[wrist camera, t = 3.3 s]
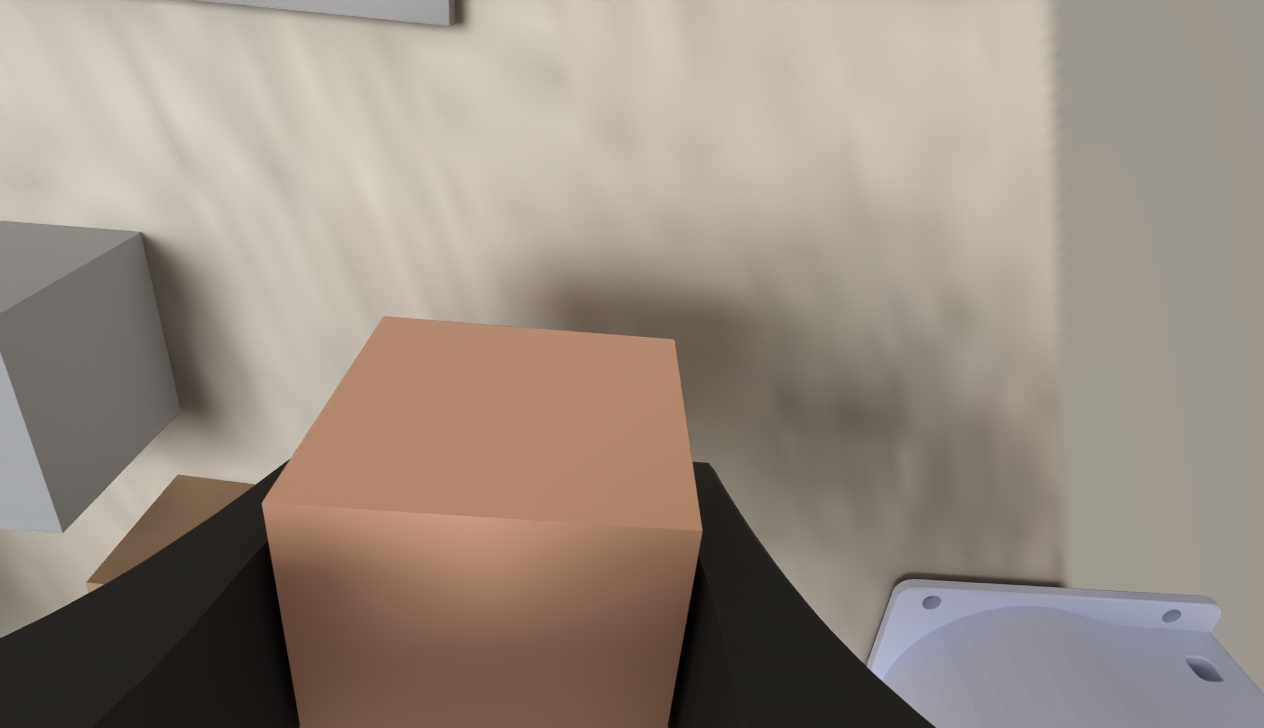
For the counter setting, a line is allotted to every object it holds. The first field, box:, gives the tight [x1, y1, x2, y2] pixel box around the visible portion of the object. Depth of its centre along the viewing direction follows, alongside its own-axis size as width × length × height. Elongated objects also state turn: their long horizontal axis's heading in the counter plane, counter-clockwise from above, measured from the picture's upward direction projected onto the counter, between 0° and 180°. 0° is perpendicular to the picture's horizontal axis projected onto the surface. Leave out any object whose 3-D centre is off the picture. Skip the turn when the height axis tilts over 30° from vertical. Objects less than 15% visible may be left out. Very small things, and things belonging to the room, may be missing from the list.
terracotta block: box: [262, 316, 702, 728], centre depth 11 cm, size 4×4×4 cm
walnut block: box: [86, 475, 301, 728], centre depth 20 cm, size 7×7×4 cm
